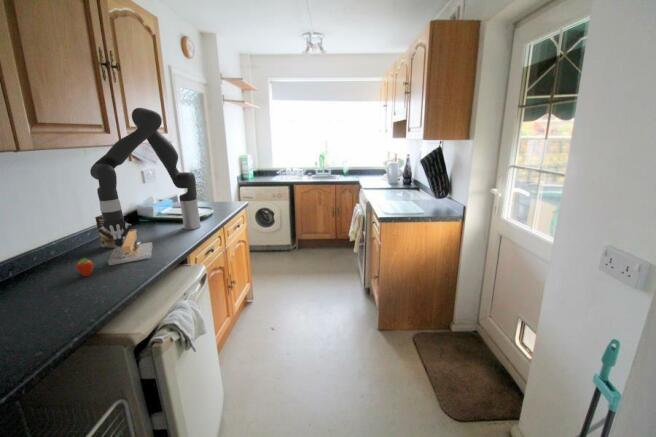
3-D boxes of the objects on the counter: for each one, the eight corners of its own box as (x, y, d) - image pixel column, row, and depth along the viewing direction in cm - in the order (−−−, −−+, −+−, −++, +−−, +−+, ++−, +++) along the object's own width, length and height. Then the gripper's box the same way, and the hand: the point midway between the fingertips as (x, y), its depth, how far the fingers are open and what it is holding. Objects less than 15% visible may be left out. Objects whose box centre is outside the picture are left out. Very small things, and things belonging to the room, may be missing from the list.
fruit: (76, 279, 122) (71, 260, 120) (83, 273, 127) (79, 255, 125) (91, 277, 123) (87, 259, 121) (98, 272, 128) (93, 254, 126)
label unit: (115, 251, 150) (114, 247, 149) (152, 245, 157) (151, 241, 156) (108, 265, 135) (107, 260, 134) (150, 258, 141) (149, 253, 141)
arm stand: (130, 244, 160) (128, 236, 159) (141, 242, 162) (140, 234, 161) (129, 247, 155) (127, 239, 154) (140, 245, 158) (139, 237, 156)
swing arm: (130, 235, 158) (129, 229, 157) (138, 234, 160) (137, 228, 159) (122, 253, 134) (121, 247, 133) (132, 252, 135) (130, 245, 135)
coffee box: (101, 247, 156) (93, 217, 152) (110, 243, 162) (104, 213, 158) (117, 247, 155) (111, 217, 151) (127, 243, 161) (120, 213, 157)
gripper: (129, 205, 142) (136, 240, 147) (94, 209, 136) (102, 246, 141) (128, 209, 136) (136, 245, 141) (91, 213, 130) (101, 251, 135)
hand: (119, 246), depth 141 cm, fingers closed
